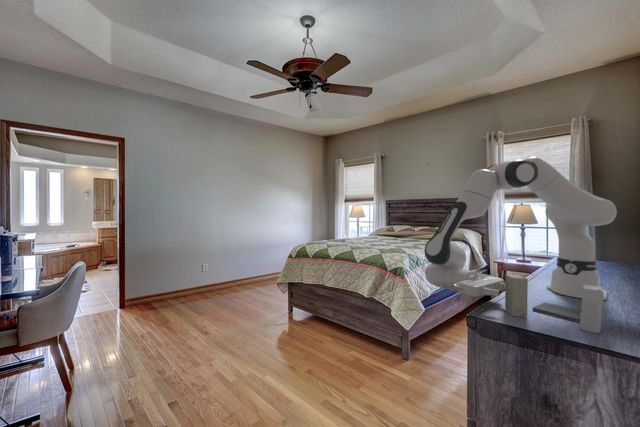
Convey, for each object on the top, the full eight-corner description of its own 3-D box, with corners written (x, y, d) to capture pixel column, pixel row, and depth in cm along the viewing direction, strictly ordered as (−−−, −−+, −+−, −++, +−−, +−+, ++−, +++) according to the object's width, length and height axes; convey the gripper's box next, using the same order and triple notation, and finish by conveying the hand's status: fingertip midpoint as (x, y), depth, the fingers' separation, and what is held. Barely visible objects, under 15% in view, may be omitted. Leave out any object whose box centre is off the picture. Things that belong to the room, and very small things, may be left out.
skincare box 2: (579, 323, 88) (581, 283, 88) (600, 328, 85) (602, 286, 85) (580, 330, 83) (582, 287, 83) (602, 334, 81) (604, 290, 80)
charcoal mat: (544, 305, 105) (544, 302, 105) (588, 316, 95) (588, 313, 95) (532, 310, 99) (532, 307, 99) (578, 322, 89) (578, 319, 89)
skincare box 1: (527, 317, 93) (529, 279, 92) (512, 316, 93) (513, 278, 93) (518, 310, 99) (519, 274, 98) (503, 309, 100) (505, 273, 99)
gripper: (450, 277, 104) (490, 286, 93) (480, 270, 115) (519, 278, 104) (449, 294, 104) (490, 306, 93) (479, 286, 116) (519, 295, 104)
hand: (506, 291), depth 98 cm, fingers open, 8 cm apart
